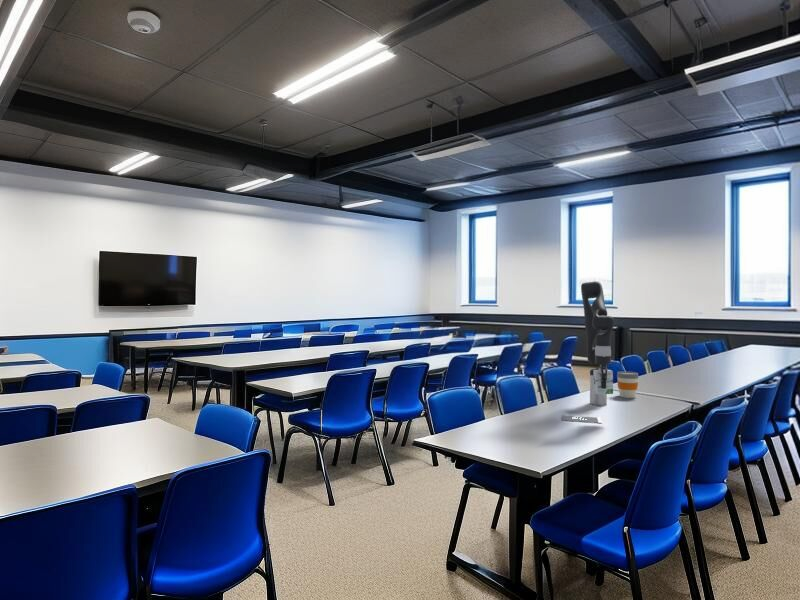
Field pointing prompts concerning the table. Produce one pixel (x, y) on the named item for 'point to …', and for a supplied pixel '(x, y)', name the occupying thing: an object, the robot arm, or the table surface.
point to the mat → (589, 419)
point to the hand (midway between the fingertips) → (603, 387)
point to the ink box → (598, 381)
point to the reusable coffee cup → (627, 384)
